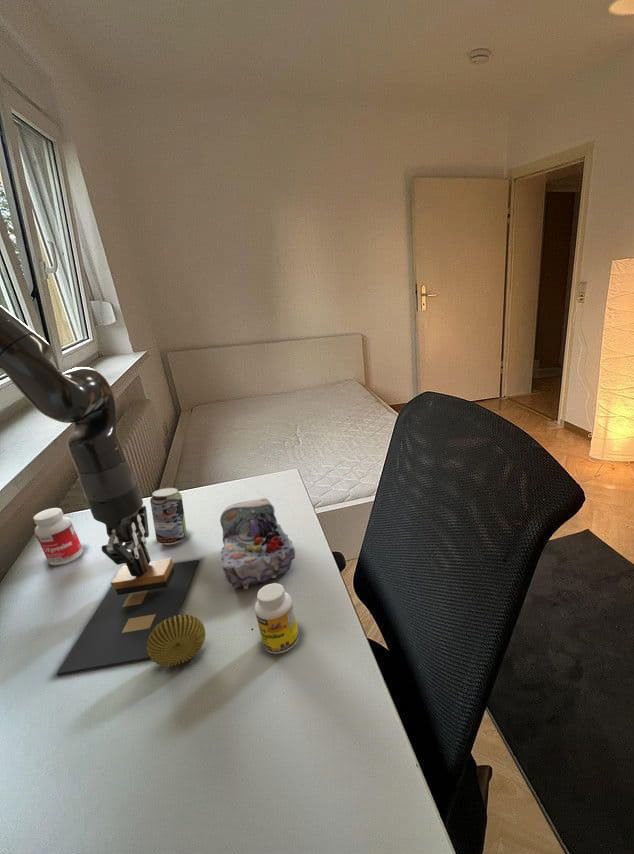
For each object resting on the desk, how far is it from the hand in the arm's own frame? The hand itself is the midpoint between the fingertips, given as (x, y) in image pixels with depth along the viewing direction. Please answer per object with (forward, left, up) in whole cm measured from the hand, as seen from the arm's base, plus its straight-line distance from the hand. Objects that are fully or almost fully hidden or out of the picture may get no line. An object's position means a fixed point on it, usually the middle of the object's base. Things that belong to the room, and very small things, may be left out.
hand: (141, 569), depth 82 cm
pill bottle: (-22, +16, -5) cm, 28 cm away
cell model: (+19, +4, -5) cm, 20 cm away
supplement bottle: (+26, -18, -5) cm, 32 cm away
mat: (0, -5, -5) cm, 7 cm away
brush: (0, 0, -3) cm, 3 cm away
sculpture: (+11, -18, -5) cm, 22 cm away
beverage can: (0, +17, -5) cm, 18 cm away
